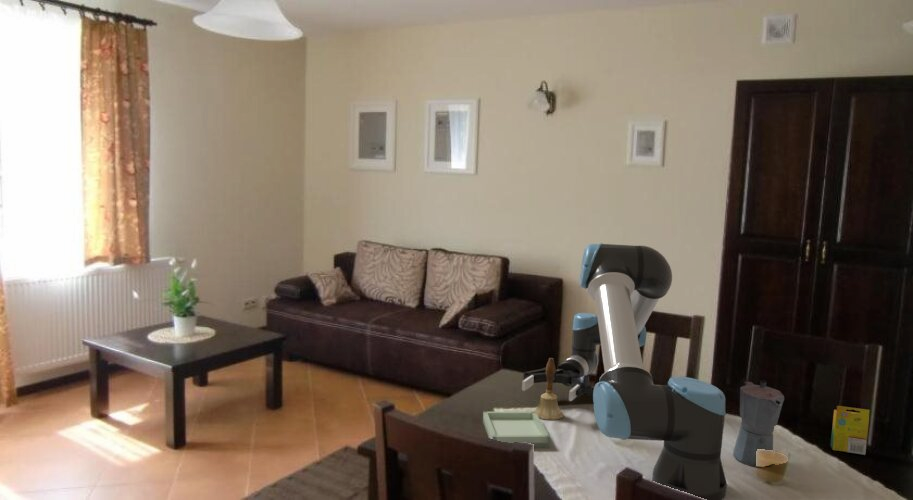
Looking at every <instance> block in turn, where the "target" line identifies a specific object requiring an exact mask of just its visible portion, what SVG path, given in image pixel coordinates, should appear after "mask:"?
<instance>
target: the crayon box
mask: <svg viewBox="0 0 913 500" xmlns="http://www.w3.org/2000/svg"><path fill="white" fill-rule="evenodd" d="M847 410H848V411H847ZM853 410H854V411H855V412H854V411H853ZM870 413H871V412H870V409H865V408H859V407H857V408H856V407H849V406H843V405H836V409H833V416H832V418H833V419H832V427H831V428H832V429H831V434H830V435H831V437H830V448H831V449H832V450H833V451H839V452H845V453H851V454H858V455H863V456H866V452H867V451H866V450H867V440H868V435H869V434H868V432H869V423H870Z"/></svg>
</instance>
